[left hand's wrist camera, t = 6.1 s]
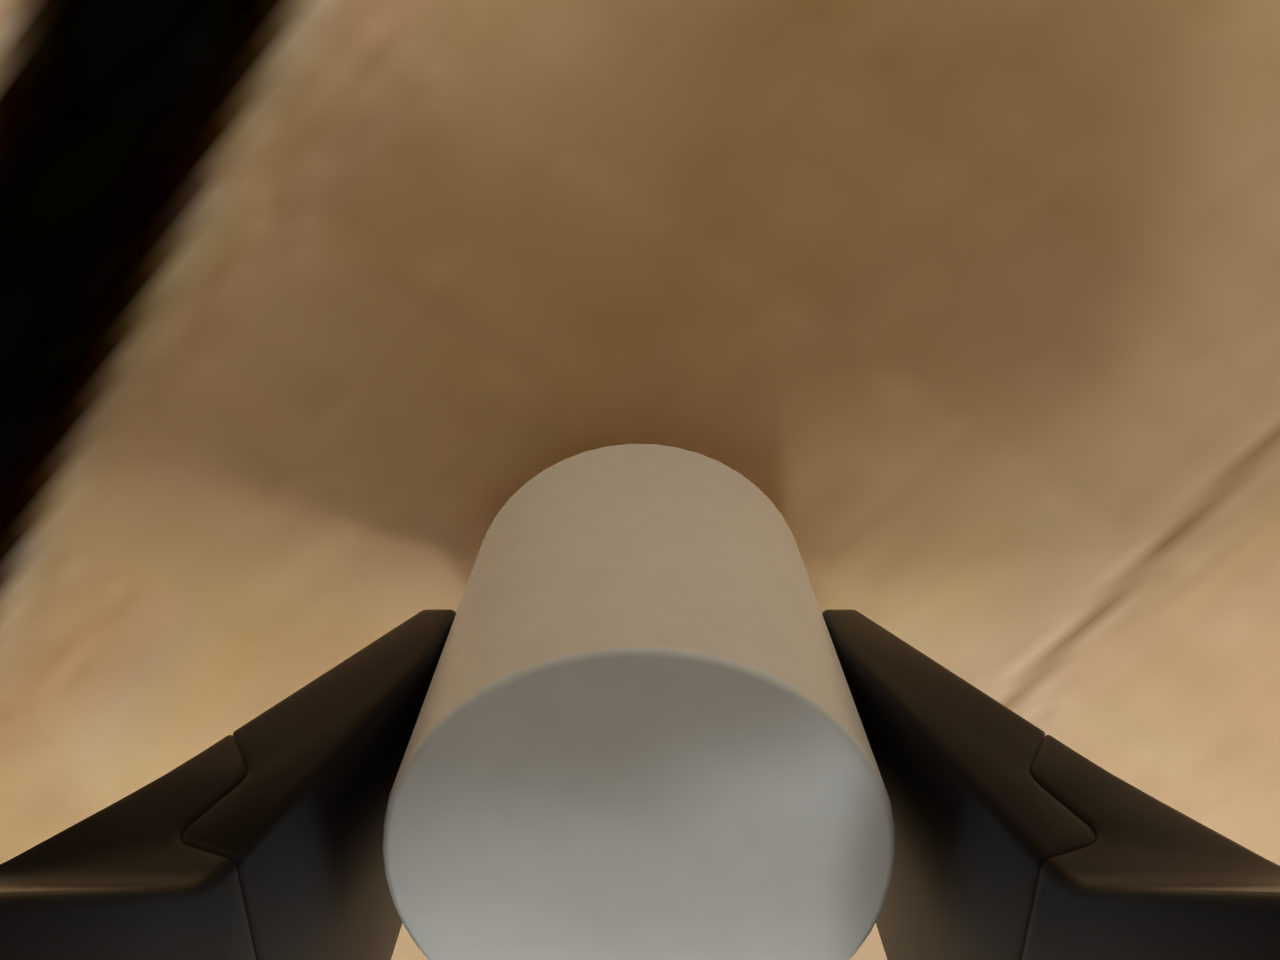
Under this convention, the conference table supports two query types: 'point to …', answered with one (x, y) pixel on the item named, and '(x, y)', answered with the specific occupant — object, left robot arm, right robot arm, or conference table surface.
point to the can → (639, 736)
